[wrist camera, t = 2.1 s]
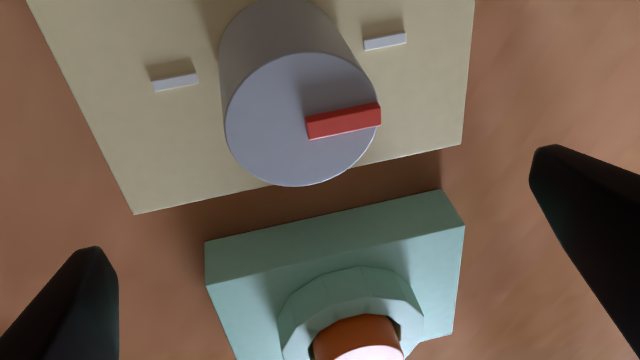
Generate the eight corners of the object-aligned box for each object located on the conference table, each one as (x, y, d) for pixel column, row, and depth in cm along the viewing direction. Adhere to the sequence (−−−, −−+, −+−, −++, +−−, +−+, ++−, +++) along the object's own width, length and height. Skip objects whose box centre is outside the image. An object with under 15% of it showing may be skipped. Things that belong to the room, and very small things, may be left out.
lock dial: (233, 125, 16) (244, 207, 13) (202, 9, 14) (205, 74, 10) (347, 102, 17) (385, 176, 13) (337, -16, 14) (380, 40, 11)
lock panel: (138, 175, 20) (132, 218, 18) (13, -99, 13) (-20, -81, 11) (437, 113, 21) (463, 146, 19) (452, -167, 14) (495, -162, 12)
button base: (243, 343, 28) (250, 418, 25) (203, 241, 23) (205, 320, 19) (434, 296, 29) (465, 362, 26) (442, 187, 24) (484, 253, 20)
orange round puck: (317, 368, 24) (324, 402, 23) (307, 323, 21) (315, 358, 20) (393, 349, 24) (404, 381, 23) (392, 302, 22) (405, 335, 20)
